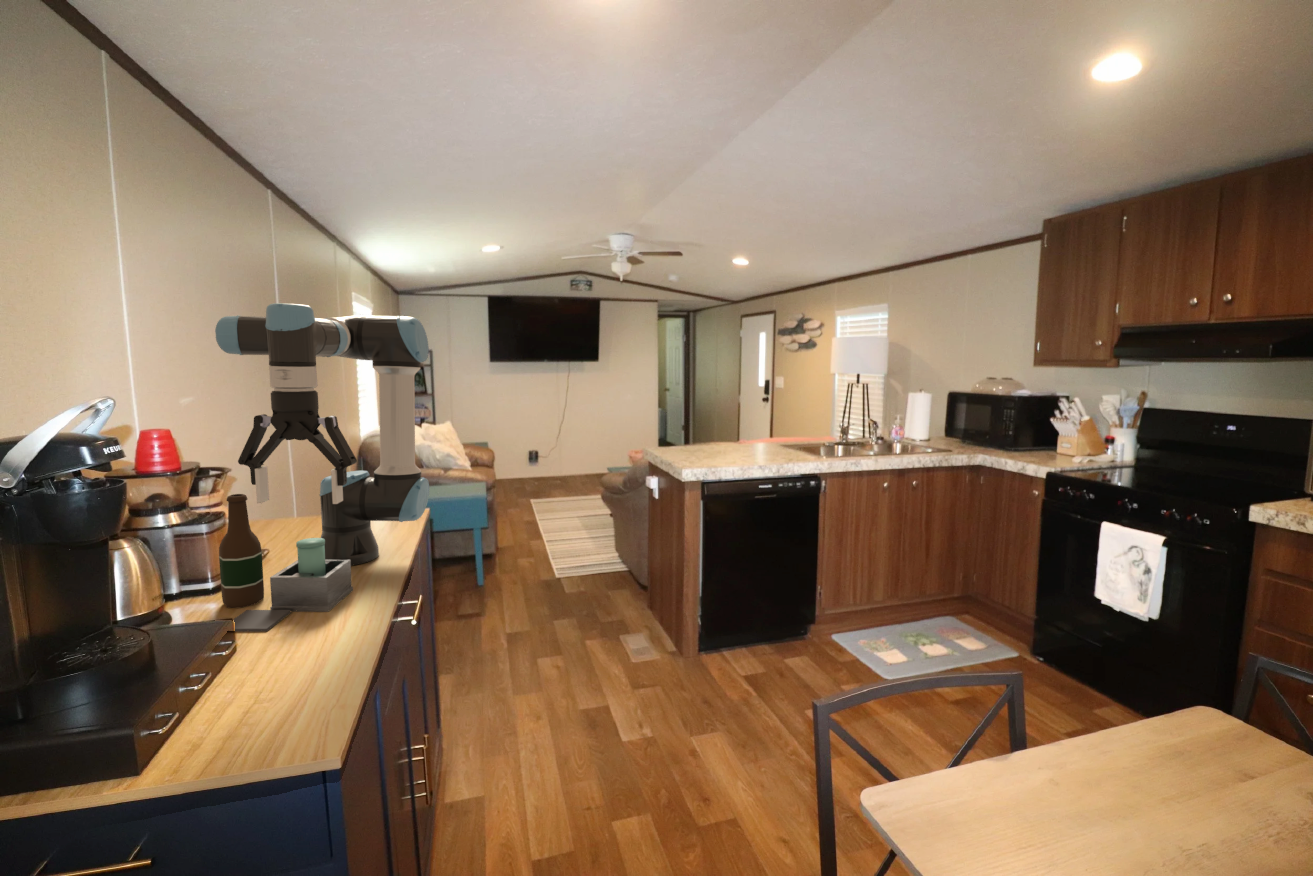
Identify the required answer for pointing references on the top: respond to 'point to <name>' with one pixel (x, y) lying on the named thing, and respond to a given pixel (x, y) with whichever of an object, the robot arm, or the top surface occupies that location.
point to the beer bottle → (240, 558)
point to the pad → (259, 620)
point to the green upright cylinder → (311, 556)
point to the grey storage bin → (311, 587)
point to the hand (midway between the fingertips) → (300, 502)
